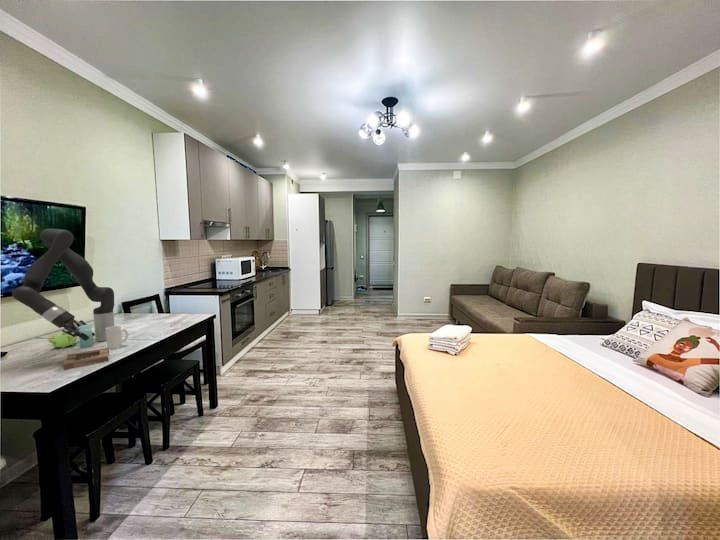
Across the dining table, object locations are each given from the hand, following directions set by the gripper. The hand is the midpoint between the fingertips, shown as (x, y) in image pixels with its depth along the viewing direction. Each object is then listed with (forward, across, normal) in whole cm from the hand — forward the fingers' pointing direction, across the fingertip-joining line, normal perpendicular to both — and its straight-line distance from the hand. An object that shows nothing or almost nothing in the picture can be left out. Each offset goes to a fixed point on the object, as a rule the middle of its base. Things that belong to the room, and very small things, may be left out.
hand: (90, 337), depth 145 cm
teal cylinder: (+2, 0, +5) cm, 5 cm away
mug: (+12, +18, +5) cm, 22 cm away
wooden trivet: (+7, 0, +10) cm, 12 cm away
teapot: (-9, +29, +27) cm, 40 cm away
